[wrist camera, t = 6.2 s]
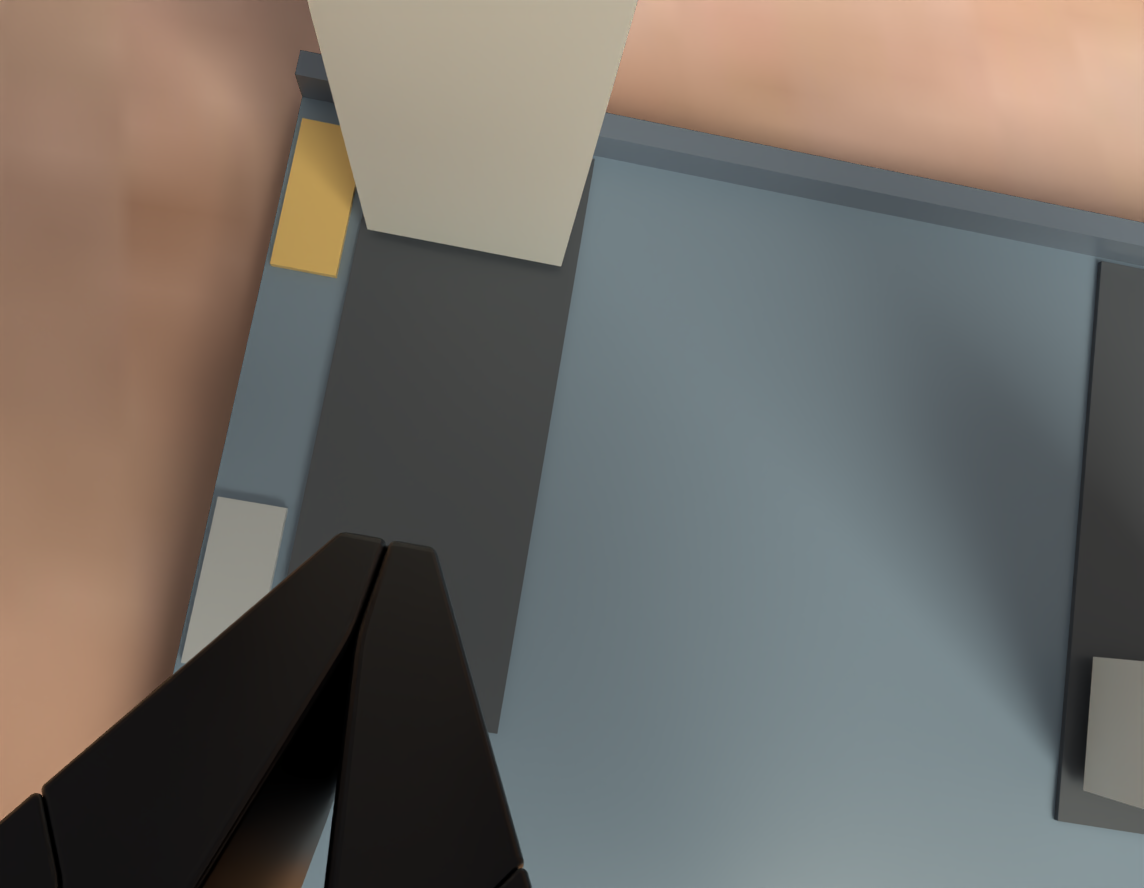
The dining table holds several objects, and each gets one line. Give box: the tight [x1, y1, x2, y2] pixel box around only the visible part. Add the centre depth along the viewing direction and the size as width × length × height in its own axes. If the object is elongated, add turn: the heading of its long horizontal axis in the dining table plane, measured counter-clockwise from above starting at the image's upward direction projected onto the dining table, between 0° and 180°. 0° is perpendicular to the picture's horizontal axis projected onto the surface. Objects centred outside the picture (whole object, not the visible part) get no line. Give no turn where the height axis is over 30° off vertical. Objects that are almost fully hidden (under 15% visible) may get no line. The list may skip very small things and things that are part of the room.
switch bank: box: [173, 50, 1144, 888], centre depth 16 cm, size 12×18×2 cm, turn 80°
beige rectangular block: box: [307, 0, 638, 266], centre depth 11 cm, size 2×3×9 cm, turn 80°
